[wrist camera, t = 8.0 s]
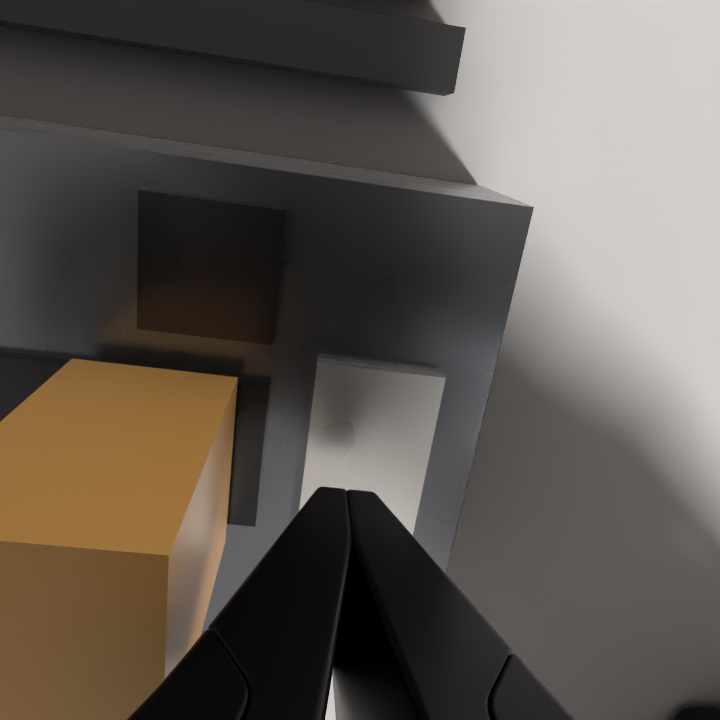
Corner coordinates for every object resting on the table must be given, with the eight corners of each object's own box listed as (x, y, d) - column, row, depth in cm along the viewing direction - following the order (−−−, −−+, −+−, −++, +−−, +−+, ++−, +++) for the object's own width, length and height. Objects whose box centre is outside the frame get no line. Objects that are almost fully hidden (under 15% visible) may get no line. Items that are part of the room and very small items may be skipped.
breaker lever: (225, 541, 10) (160, 787, 6) (77, 528, 10) (-81, 774, 6) (238, 377, 9) (168, 554, 5) (72, 357, 9) (-122, 529, 5)
